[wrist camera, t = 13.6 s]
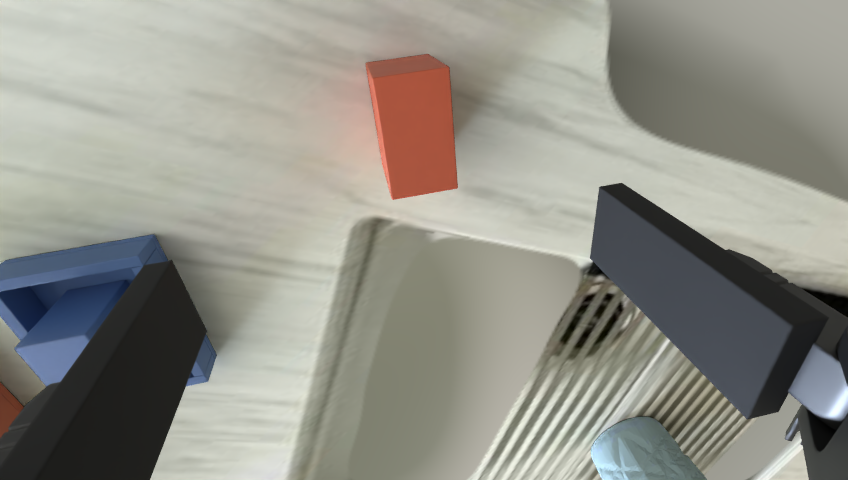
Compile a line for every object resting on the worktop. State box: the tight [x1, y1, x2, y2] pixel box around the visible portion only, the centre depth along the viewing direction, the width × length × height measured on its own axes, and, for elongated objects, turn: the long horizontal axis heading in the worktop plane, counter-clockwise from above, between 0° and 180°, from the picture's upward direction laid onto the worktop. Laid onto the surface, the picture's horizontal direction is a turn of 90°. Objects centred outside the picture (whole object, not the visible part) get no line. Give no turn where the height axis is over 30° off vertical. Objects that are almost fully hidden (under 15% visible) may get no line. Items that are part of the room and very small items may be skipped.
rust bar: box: [366, 54, 458, 200], centre depth 22 cm, size 6×4×5 cm, turn 6°
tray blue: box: [0, 234, 217, 386], centre depth 26 cm, size 10×8×2 cm
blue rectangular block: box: [14, 280, 129, 386], centre depth 25 cm, size 6×4×5 cm, turn 6°
